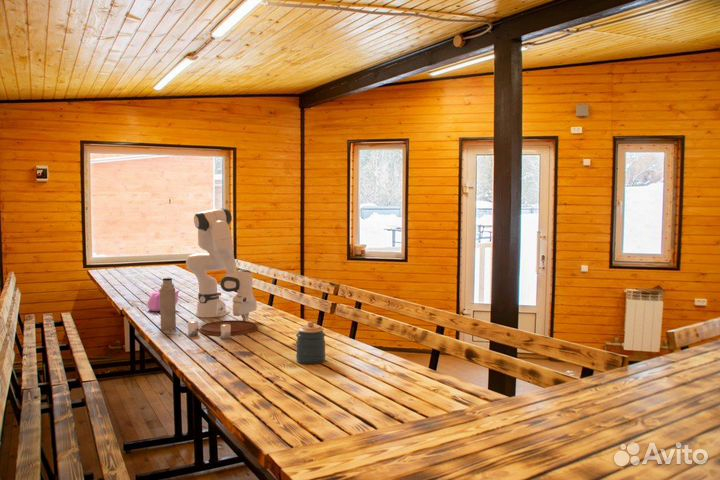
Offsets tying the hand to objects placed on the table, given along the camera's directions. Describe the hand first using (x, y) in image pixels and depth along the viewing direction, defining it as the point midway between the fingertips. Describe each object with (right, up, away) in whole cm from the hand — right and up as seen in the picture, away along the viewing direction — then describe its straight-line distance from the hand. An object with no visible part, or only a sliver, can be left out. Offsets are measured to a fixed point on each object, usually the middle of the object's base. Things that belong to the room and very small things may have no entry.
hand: (245, 320), depth 325 cm
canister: (+45, -7, -78) cm, 91 cm away
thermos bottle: (-41, -2, -13) cm, 43 cm away
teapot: (-61, +1, +41) cm, 74 cm away
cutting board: (-6, -3, -17) cm, 18 cm away
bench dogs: (-12, -4, -34) cm, 36 cm away
